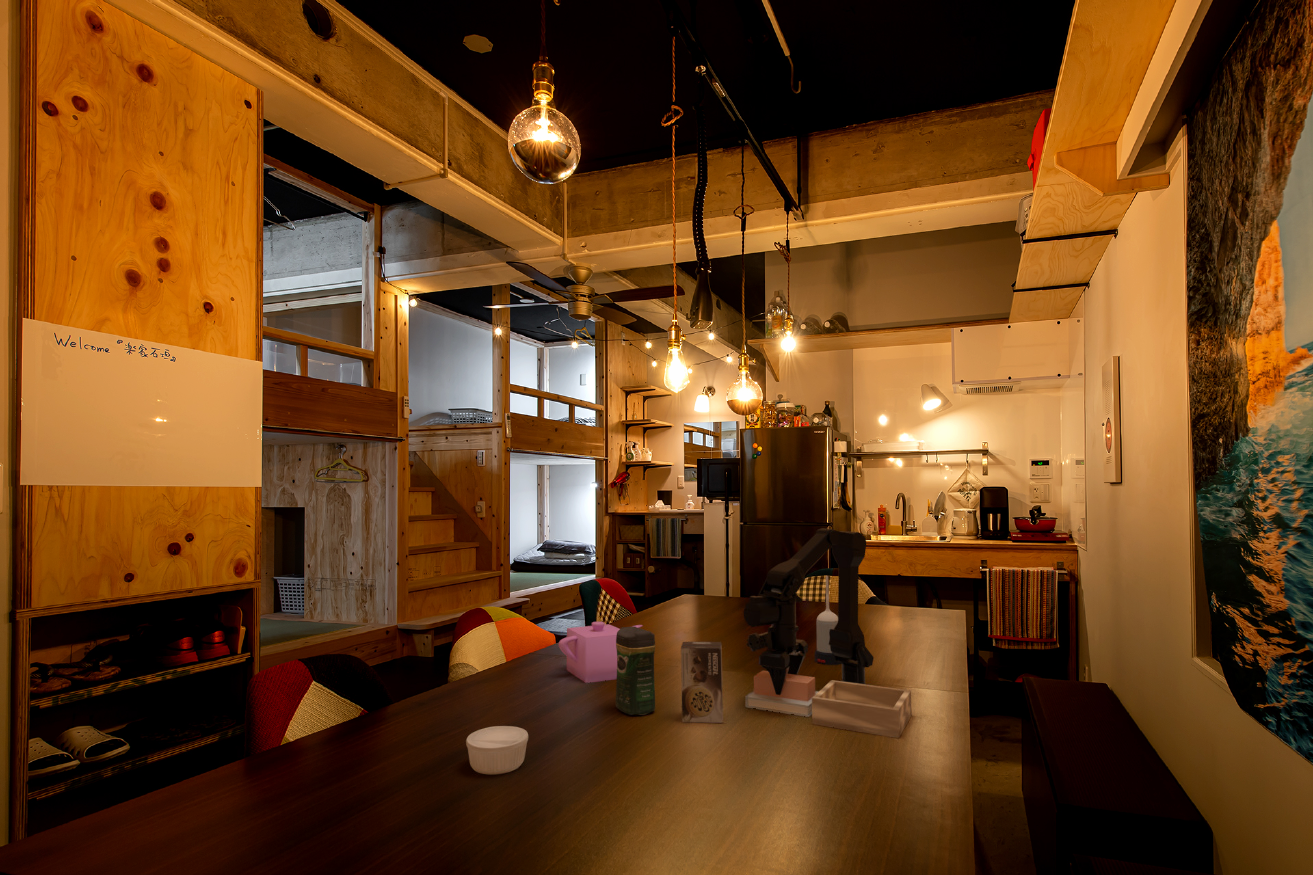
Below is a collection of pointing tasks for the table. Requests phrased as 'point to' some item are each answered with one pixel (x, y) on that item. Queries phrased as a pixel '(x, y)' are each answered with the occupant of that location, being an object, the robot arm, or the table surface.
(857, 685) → the shelf tray
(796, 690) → the terracotta rectangular block
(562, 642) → the teapot
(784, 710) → the book pile base
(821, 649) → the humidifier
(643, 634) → the coffee jar
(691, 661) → the coffee box
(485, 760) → the ramekin
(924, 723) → the table surface
